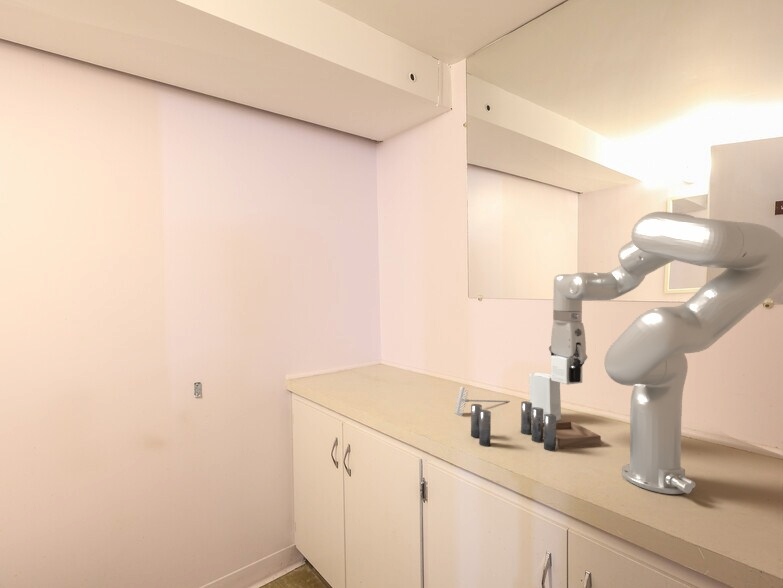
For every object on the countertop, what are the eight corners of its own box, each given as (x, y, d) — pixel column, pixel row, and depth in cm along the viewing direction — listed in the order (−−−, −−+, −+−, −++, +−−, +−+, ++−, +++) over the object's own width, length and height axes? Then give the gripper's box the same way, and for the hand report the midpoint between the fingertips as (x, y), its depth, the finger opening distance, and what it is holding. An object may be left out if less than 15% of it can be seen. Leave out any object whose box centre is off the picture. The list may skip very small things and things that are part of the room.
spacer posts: (558, 450, 104) (558, 417, 104) (491, 455, 100) (492, 421, 100) (528, 430, 118) (528, 401, 118) (469, 434, 115) (469, 404, 115)
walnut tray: (600, 445, 107) (600, 436, 107) (559, 448, 105) (559, 439, 105) (571, 429, 120) (571, 420, 120) (533, 431, 117) (534, 423, 117)
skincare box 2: (582, 383, 111) (583, 357, 111) (566, 385, 108) (566, 358, 108) (566, 378, 116) (566, 354, 116) (550, 380, 114) (550, 355, 114)
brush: (513, 417, 147) (518, 393, 146) (461, 417, 131) (468, 390, 131) (505, 413, 150) (510, 389, 150) (454, 413, 134) (460, 386, 134)
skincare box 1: (561, 420, 128) (562, 375, 128) (550, 423, 125) (550, 377, 125) (539, 413, 135) (539, 370, 135) (528, 416, 132) (528, 372, 132)
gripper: (600, 319, 104) (599, 385, 104) (560, 315, 121) (559, 372, 122) (575, 319, 103) (574, 386, 103) (538, 315, 120) (537, 372, 120)
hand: (566, 378), depth 112 cm, fingers closed on skincare box 2, 6 cm apart
